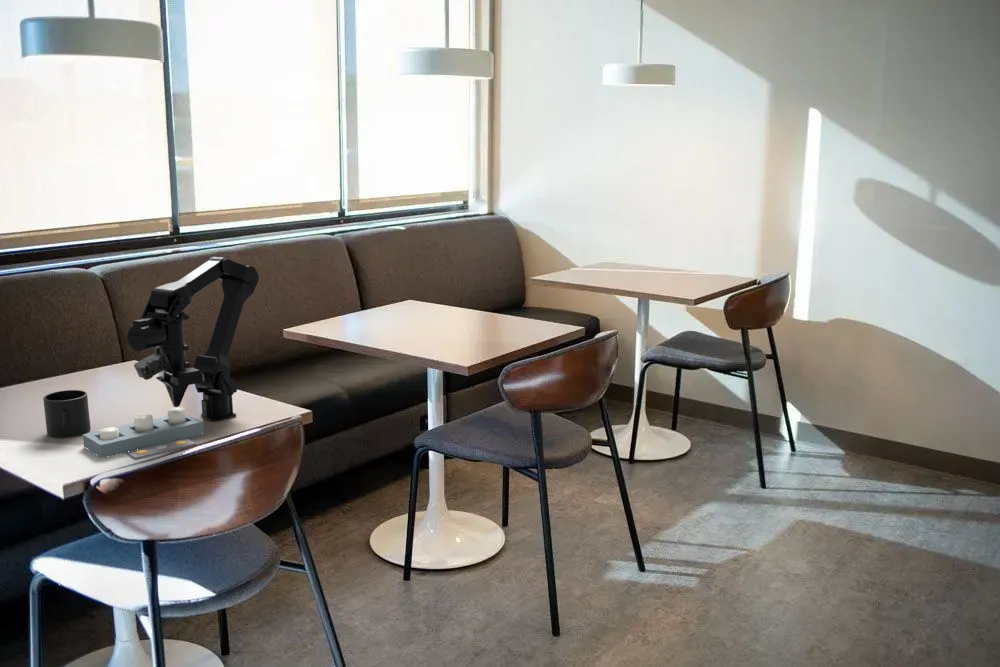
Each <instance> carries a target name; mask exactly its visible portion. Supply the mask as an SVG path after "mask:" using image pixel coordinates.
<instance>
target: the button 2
mask: <svg viewBox="0 0 1000 667" xmlns="http://www.w3.org/2000/svg"><path fill="white" fill-rule="evenodd" d="M186 411H187V410H186V408H185V407H180V406H179V407H172V408H169V409H167V416H168V423H169V424H171V425H175V424H180V423H184V422H186V414H187V412H186Z"/></svg>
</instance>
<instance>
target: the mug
mask: <svg viewBox="0 0 1000 667" xmlns="http://www.w3.org/2000/svg"><path fill="white" fill-rule="evenodd" d="M42 400H43V408H44V418H45V429H46V434H47V436H48V437H49V438H54V439H66V438H67V439H69V438H74V437H75V436H76V437H79V436H83V434H87V433H90V430H91V420H90V410H89V409H90V408H89V400H88V393H87V392H86V391H85V390H81V389H80V390H79V389H69V390H68V389H67V390H60V391H54V392H50V393H48V394H46V395H44V396H43V399H42Z"/></svg>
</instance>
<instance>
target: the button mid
mask: <svg viewBox="0 0 1000 667" xmlns="http://www.w3.org/2000/svg"><path fill="white" fill-rule="evenodd" d="M153 419H154V418H153V415H152V414H149V413H148V414H138V415H136V416H134V417H133V423H134V424H135V431H136V432H138V433H140V432H144V431H149V430H153V429H154V428H153Z"/></svg>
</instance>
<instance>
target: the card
mask: <svg viewBox="0 0 1000 667" xmlns="http://www.w3.org/2000/svg"><path fill="white" fill-rule="evenodd" d="M193 445H194V446H196V445H197V443H196V442H195V441H192V440H191V439H189V438H184V439H180V440H175V441H171V442H167V443H163V444H159V445H154V446H150V447H146V448H142V449H138V450H133V451H129V452H126V453H125V455H127V454H128V455H127V456H129V458H132V459H134V460H135V461H136V460H140V459H144V458H148V457H151V456H156V455H160V454H164V453H168V452H173V451H176V450H181V449H184V448H185V449H186V448H189V447H192V446H193Z"/></svg>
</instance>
